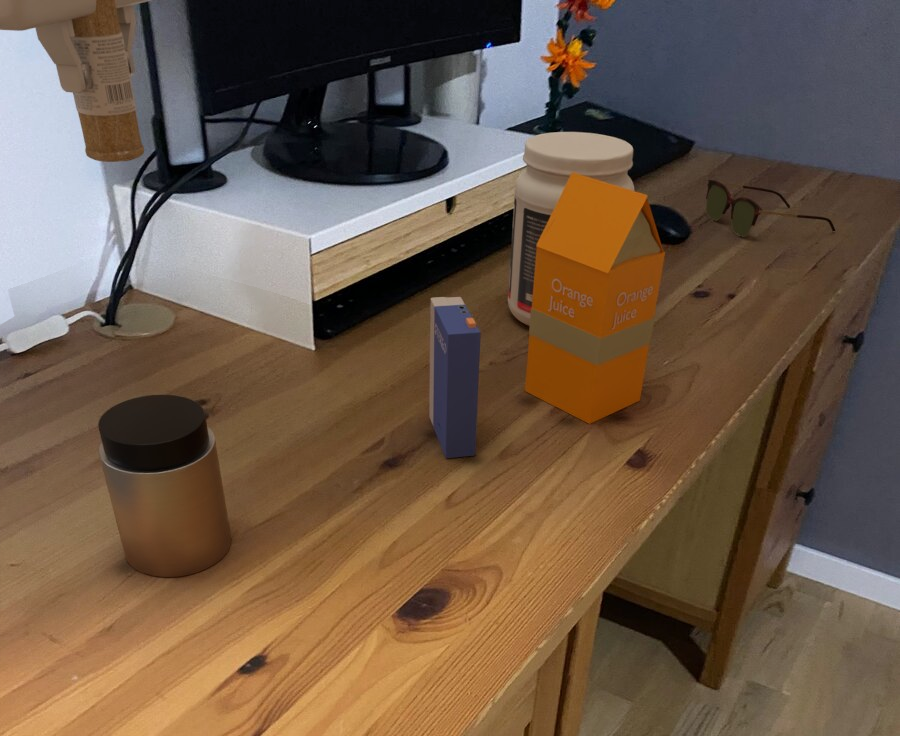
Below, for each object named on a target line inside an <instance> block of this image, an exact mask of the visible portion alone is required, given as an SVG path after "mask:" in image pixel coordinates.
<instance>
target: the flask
mask: <svg viewBox="0 0 900 736" xmlns="http://www.w3.org/2000/svg"><path fill="white" fill-rule="evenodd" d="M97 428H98V433H99V436H100V440H101V443H100V445H99V448H98V456H99V460H100V464H101V468H102V471H103V472H102V473H103V476H104V480H105V484H106V487H107V492H108V494H109V499H110V503H111V506H112V510H113V514H114V518H115V522H116V526H117V530H118V534H119V538H120V542H121V546H122V550H123V553H124V556H125V560H126V561H127V563H128V565H130V566H131V567H132V568H133V569H135V570H136V571H138V572H140V573H143V574H145V575H148V576H152V577H158V578H180V577H185V576H190V575H193V574H197V573H200V572H202V571H205V570H208V569H209V568H211V567H213V566H214V565H216V564H217V563H219V562H220V561H221V560H222V559H223V558H224V557H225V556H226V555H227V553H228V552H229V550H230V548H231V545H232V534H231V529H230V522H229V517H228V510H227V504H226V498H225V497H226V496H225V492H224V486H223V485H224V484H223V479H222V473H221V467H220V461H219V460H220V459H219V455H218V449H217V448H218V447H217V442H216V436H215V434H214V432H213V431H212V429H211V428H210V427H209V426H208V422H207V417H206V411H205V409H204V407H203V406H202V405H201V404H200V403H198V401H195V400H193V399H191V398H189V397H185V396H181V395H175V394H149V395H143V396H142V395H141V396H137V397H133V398H130V399H126V400H124V401H121V402H118V403H117V404H115V405H113V406H112V407H110V408H108V409H107V410H106V411H105V412H104V413H102V415H101V416H100V418H99V420H98V424H97Z"/></svg>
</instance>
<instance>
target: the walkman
mask: <svg viewBox="0 0 900 736" xmlns="http://www.w3.org/2000/svg"><path fill="white" fill-rule="evenodd" d="M429 313H430V315H429V316H430V317H429V319H430V320H429V321H430V322H429V323H430V327H429V329H430V332H429V333H430V334H429V337H430V338H429V397H428V398H429V401H428V402H429V404H428V406H429V407H428V408H429V409H428V410H429V411H428V414H429V420H430V422H431V425H432V428H433V430H434V431H435V432H434V433H435V436H436V437H437V440H438V443H439V445H440V448H441V450H442V453H443V455H444V458H445V459H453V458H455V459H456V458H464V457H475V456H476V448H477V447H476V446H477V427H478V426H477V425H478V424H477V423H478V406H479V405H478V403H479V402H478V401H479V381H480V379H479V378H480V359H481V337H482V336H481V335H482V332H481V329H479V327H478V325H477V322H476V321H475V318H474V317H473V316H472V313H471V312H470V310H469V309H468V307H467V305H466V304H465V302H464V300H463V298H462V297H461V296H453V297H450V296H449V297H446V296H438V297H431V298H430V312H429Z"/></svg>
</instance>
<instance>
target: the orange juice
mask: <svg viewBox="0 0 900 736" xmlns="http://www.w3.org/2000/svg"><path fill="white" fill-rule="evenodd" d="M648 196H649V194H644V193H642V192H638V191H636V190H635V191H632V190H629V189H626V188H622V187H619V186H616V185H613V184H609V183H606V182H603V181H599V180H596V179H593V178H590V177H586V176H583V175H580V174H577V173H573V172H572V173H571V175H570V178H569V180H568V182H567V184H566V186H565V188H564V190H563V192H562V194H561V196H560V198H559V200H558V202H557V204H556V206H555V208H554V210H553V212H552V214H551V216H550V218H549V220H548V222H547V224H546V227H545V229H544V231H543V233H542V235H541V237H540V239H539V241H538V243H537V245H536V246H537V250H536V262H535V274H534V286H533V298H532V308H531V315H530V326H529V328H528V329H529V330H528V335H529V336H528V346H527V347H528V349H527V360H526V372H525V385H524V392H525V393H528V394H530V395H532V396H534V397H536V398H538V399H539V400H542V401H544V402H545V403H547V404H550V405H551V406H553V407H555V408H556V409H557V408H558V409H559V410H561V411H562V412H565V413H567V414H569V415H571V416H573V417H575V418H577V419H579V420H580V421H583V422H584V423H587V424H589V425H590V424H592V423H595V422H597V421H599V420H601V419H603V418H606V417H608V416H610V415H612V414H615V413H616V412H618V411H621V410H623V409H625V408H627V407H630V406H631V405H634V404H636V403H638V402H640V401H641V396H642V391H643V384H644V379H645V373H646V367H647V361H648V356H649V350H650V344H651V341H652V336H653V329H654V324H655V314H656V308H657V303H658V296H659V291H660V287H661V281H662V274H663V267H664V262H665V256H666V252H665V251H664V248H663V245H662V243H661V239H660V235H659V232H658V229H657V225H656V223H655V219H654V216H653V213H652V212H653V211H652V209H651V206H650V203H649V198H648Z"/></svg>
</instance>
